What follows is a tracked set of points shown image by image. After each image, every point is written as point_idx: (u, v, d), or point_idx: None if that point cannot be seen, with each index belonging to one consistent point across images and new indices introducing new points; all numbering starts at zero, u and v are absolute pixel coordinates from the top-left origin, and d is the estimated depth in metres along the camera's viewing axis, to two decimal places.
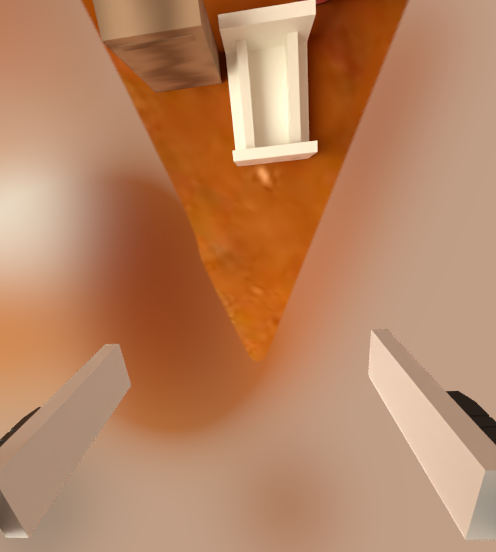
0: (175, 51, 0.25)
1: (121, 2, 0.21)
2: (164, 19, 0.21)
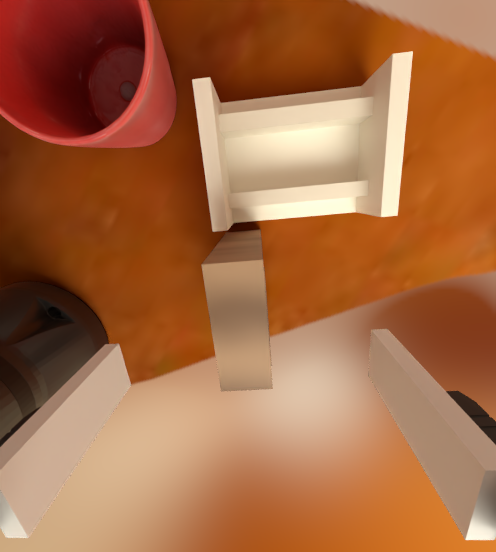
0: None
1: (234, 360, 0.16)
2: (253, 310, 0.15)
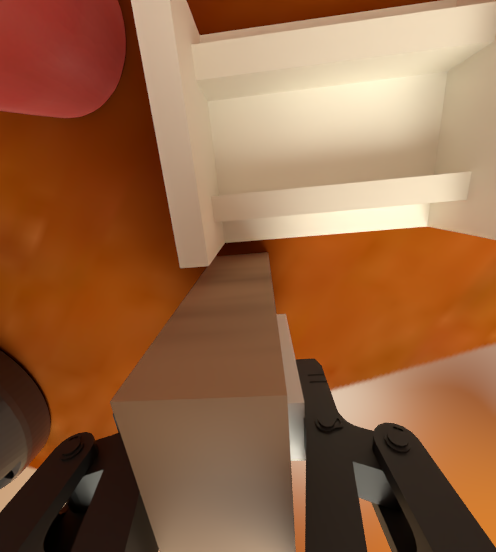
0: None
1: None
2: (259, 503, 0.06)
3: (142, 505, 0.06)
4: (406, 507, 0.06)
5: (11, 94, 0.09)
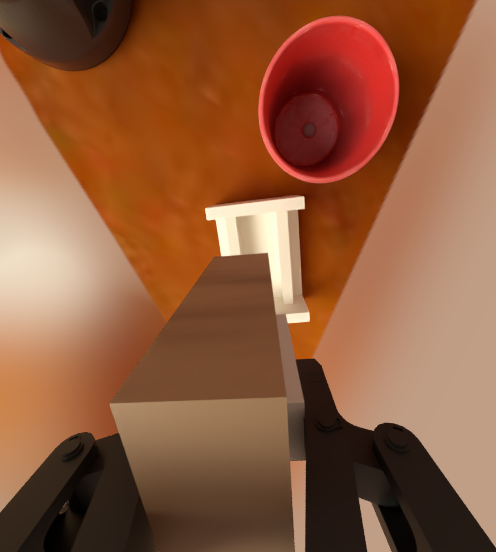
0: None
1: None
2: (259, 505, 0.06)
3: (142, 505, 0.06)
4: (406, 507, 0.06)
5: None
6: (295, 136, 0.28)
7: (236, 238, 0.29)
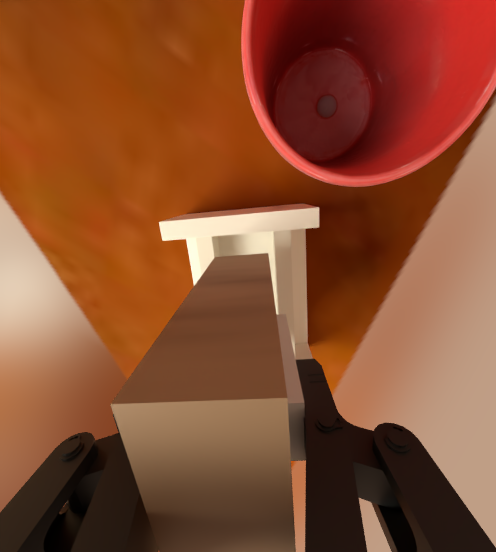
0: None
1: None
2: (259, 505, 0.06)
3: (142, 505, 0.06)
4: (406, 507, 0.06)
5: None
6: (305, 115, 0.18)
7: None
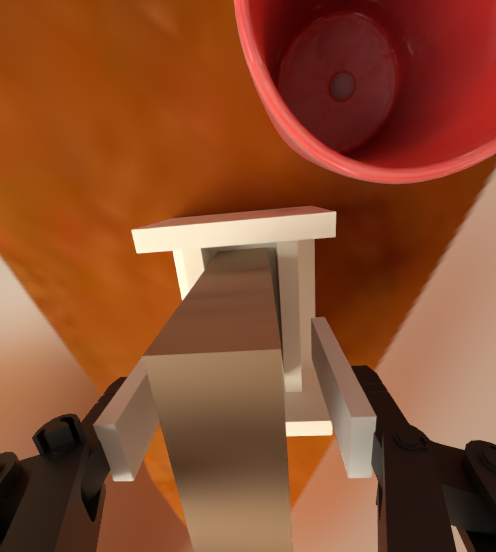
0: None
1: (219, 521, 0.08)
2: (259, 443, 0.07)
3: (70, 523, 0.06)
4: None
5: None
6: (315, 97, 0.15)
7: None
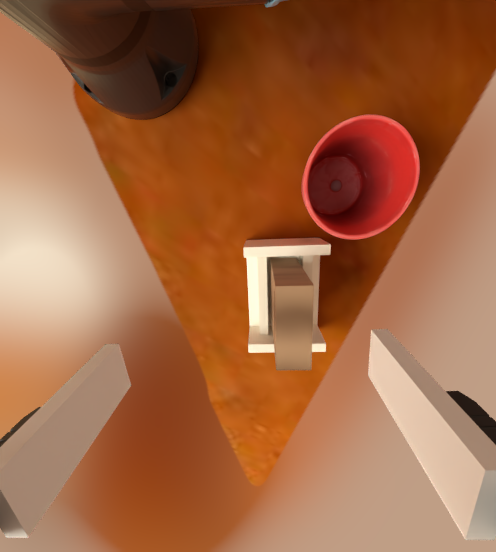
0: None
1: (287, 349, 0.25)
2: (304, 316, 0.24)
3: None
4: None
5: None
6: (323, 189, 0.32)
7: (265, 272, 0.32)
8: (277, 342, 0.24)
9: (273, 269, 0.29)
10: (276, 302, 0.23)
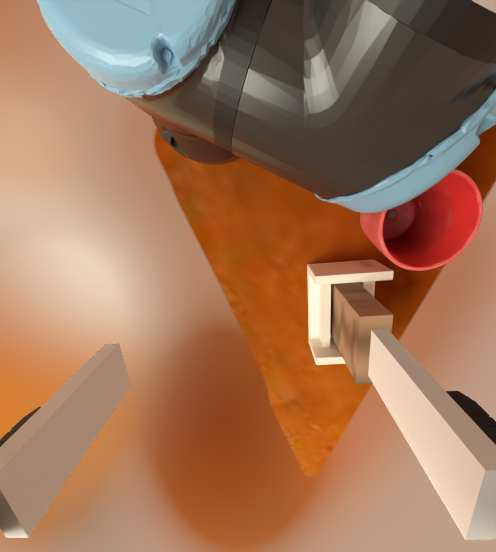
0: None
1: (367, 366, 0.29)
2: None
3: None
4: None
5: (369, 232, 0.31)
6: None
7: (329, 294, 0.36)
8: (358, 361, 0.29)
9: (343, 295, 0.33)
10: (359, 329, 0.27)
